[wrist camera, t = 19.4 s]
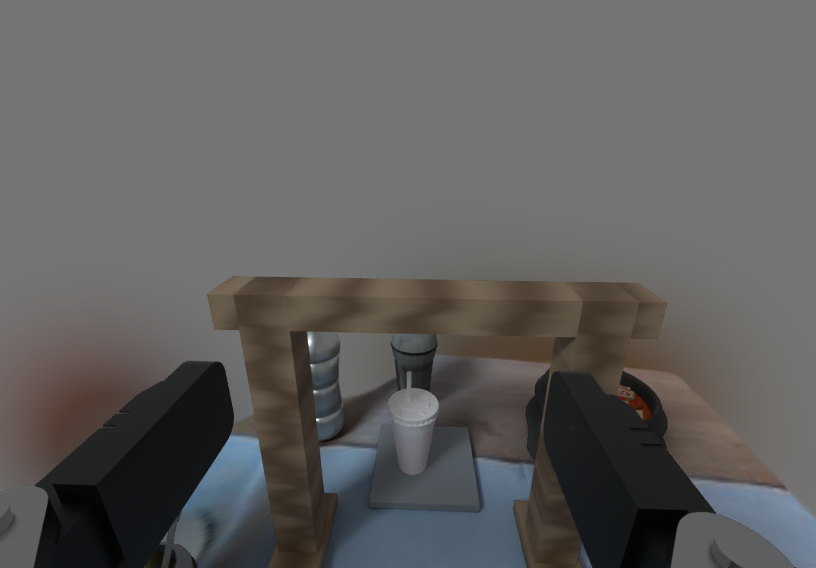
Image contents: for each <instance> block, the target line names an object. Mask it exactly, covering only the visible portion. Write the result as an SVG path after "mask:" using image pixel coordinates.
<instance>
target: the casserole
mask: <svg viewBox="0 0 816 568" xmlns="http://www.w3.org/2000/svg"><path fill="white" fill-rule="evenodd" d="M549 373H550V368H549V369H548V370H547V371H546V373H545V374H544V375H543V376H542V377H540V378H539V379H538V381H537V383H536V385H535V396H534V397H533V398H532V399H531V400H530V401H529V403H528V405H527V408H526V418H527V424H528V429H529V432H528V439H527V448H528V451H529V453H530V455H531V456H532V458H533V459H534V460H536V454H537V448H538V442H539V435H540V429H541V423H542V417H543V410H544V404H545V398H546V392H547V386H548V379H549ZM617 397H618V398H620V399H621V400H622V401H624V402H625V403H626V404H628V405H629V406H631V407H632V408H633V409H635V410H636V411H637V413H638V414H639V415H640V417H641V418H642V419H643V420H644V422H645V423H646V424H647V425H648V427H649V428H650V432H653V433H654V434H655V436H656V437H657V438H658V440H659V441H660V442H661V443H662V447H663V448H666V445H665V442H664V439H663V437H662V436H663V435H664V434H665V432H666V430H667V418H666V415H665V413H664V411H663V410H662V405H661V402H660V400H659V398H658V397H657V395H656V394H655V392H654V391H653V390H652V389H651V388H650V387H649V386H647V385H646V384H645V383H643V382H642V381H641V380H639V379H637V378H636V377H634V376H632V375H630V374H628V373H626V372H624V371H623V372H622V376H621V380H620V384H619V388H618V392H617Z"/></svg>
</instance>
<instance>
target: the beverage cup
mask: <svg viewBox="0 0 816 568" xmlns="http://www.w3.org/2000/svg"><path fill="white" fill-rule="evenodd" d="M391 346H392V351H393V355H394V357H395V366H396V376H397V385H398V391H400V390H403V389H407V371H411V372H412V376H411V388H419V389H423V390H426V391H428V392H429V389H430V381H431V373H432V365H433V358H434V356H435V352H436V347H437V340H436V334H397V333H393V336H392V341H391Z"/></svg>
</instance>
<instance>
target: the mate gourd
mask: <svg viewBox="0 0 816 568" xmlns="http://www.w3.org/2000/svg"><path fill="white" fill-rule="evenodd" d="M181 512H182V510H181ZM181 512H180V513H179V515H178V516H177V518H176V519H175V521H174V522H173V524H172V526H171V527H170V529H169V530H168V536H167V541H166V542H161V543H160V544H159V545H158V547H157V548H156V550H155V551H154V553H153V554H152V556H151V557H150V559H149V560H148V562H147V564H146V565H145V567H144V568H197V564H196V562H195V560H194V558H193V557H192V556H191V554H190V553H189V552H188V551H187V550H186V549H185V548H184V547H183V546H181V545H178V544H173V541H174V536H175V531H176V525H177V522H178V521H179V518H180V515H181Z"/></svg>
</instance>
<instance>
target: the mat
mask: <svg viewBox="0 0 816 568" xmlns="http://www.w3.org/2000/svg"><path fill="white" fill-rule="evenodd" d="M369 507H370V508H387V509H413V510H438V511H463V512H479V510H480V503H479V497H478V490H477V483H476V477H475V470H474V464H473V457H472V450H471V444H470V437H469V431H468V427H453V426H434V428H433V433H432V438H431V444H430V449H429V454H428V460H427V465H426V468H425V470H424V471H423V472H421V473H420V474H417V475H409V474H406V473H404V472H403V471H402V470H401V469H400V467H399V463H398V457H397V451H396V445H395V439H394V432H393V426H392V425H389V424H381V428H380V435H379V441H378V448H377V454H376V461H375V467H374V474H373V481H372V487H371V494H370V500H369Z"/></svg>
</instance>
